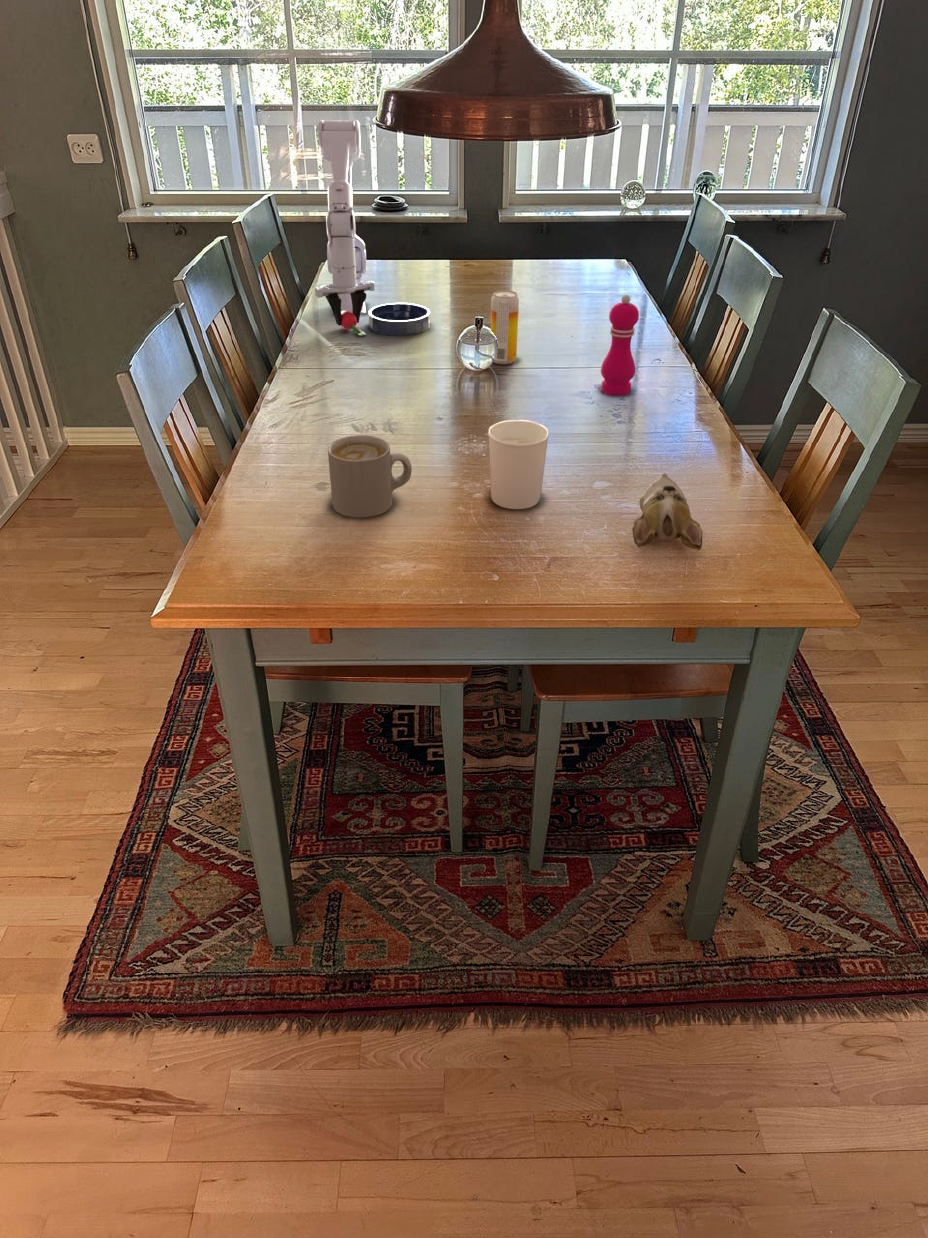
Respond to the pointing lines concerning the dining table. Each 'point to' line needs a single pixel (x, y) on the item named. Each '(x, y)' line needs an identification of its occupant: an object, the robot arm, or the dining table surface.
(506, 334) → the beer can
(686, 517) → the ceramic sculpture
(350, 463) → the coffee mug
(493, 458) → the white cup
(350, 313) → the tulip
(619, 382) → the pepper mill
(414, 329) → the bowl
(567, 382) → the dining table surface
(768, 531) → the dining table surface
